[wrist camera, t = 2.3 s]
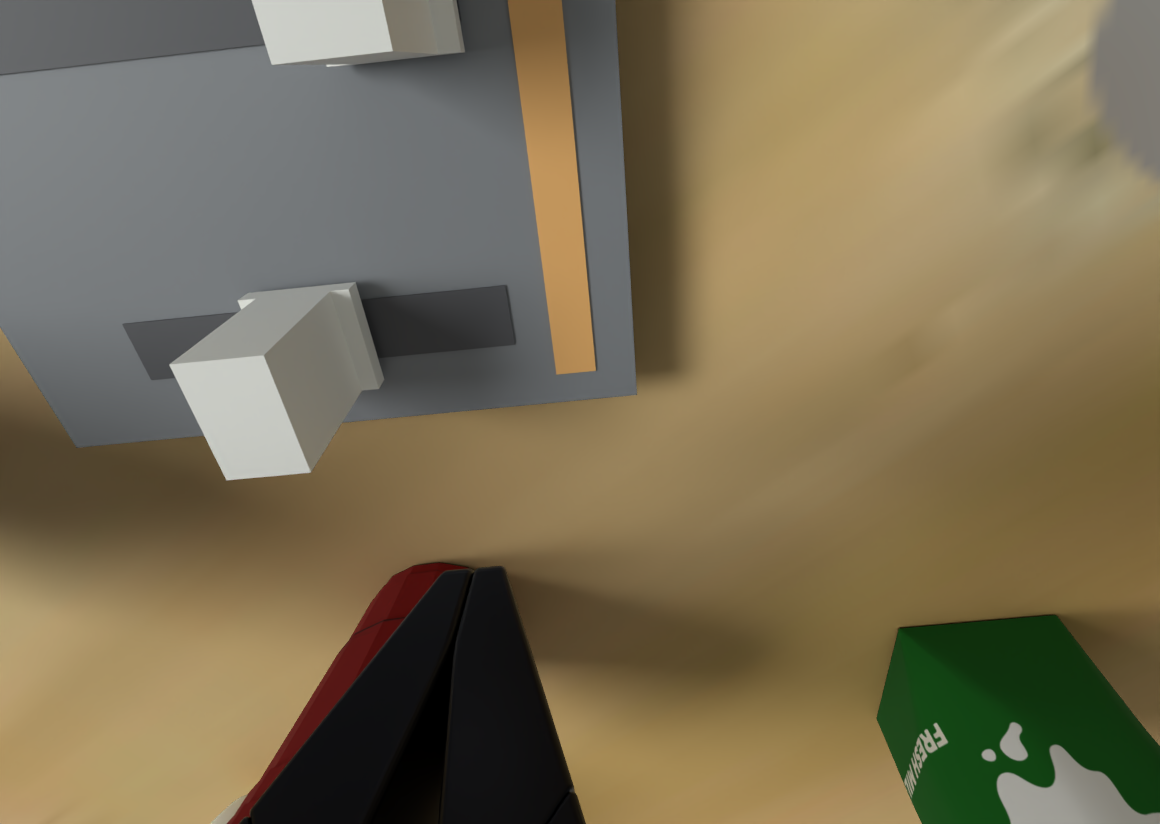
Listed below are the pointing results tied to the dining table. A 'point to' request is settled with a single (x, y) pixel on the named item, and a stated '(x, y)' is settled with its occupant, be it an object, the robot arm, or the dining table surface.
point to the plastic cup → (350, 664)
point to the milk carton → (1014, 728)
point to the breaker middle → (357, 30)
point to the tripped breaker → (280, 378)
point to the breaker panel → (311, 204)
